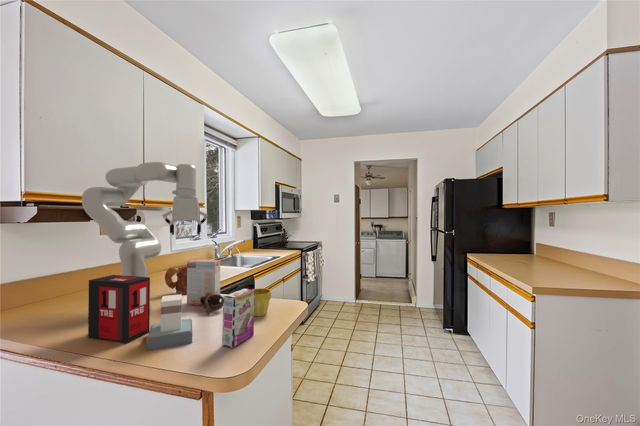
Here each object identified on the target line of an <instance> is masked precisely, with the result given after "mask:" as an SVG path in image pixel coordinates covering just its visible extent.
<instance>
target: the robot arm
mask: <svg viewBox="0 0 640 426" xmlns="http://www.w3.org/2000/svg"><path fill="white" fill-rule="evenodd" d="M105 181H106V183H108V184H109V185H110V186H112V187H106V186H93V187H89V188H87V189H85V190H84V191H83V192H82V196H81V205H82V207H83V209H84V211H85V213H86V214H87V215H88V216H89V217H90V218H91V219H92V220H93V221H94V222H95V224H97V225H98V226H99V228H100V229H101V230H102V231H103V232H104V233H105V234H106V236H107V237H108V239H110V240H111V242H113V243H115V244H121V245H120V246H119V248H118V255H119V261H120V266H121V267H120V269H121V275H123V276H137V277H149V276H148V274H149V273H148V272H149V271H148V267H147V265H146V263H145V260H147V259H154V258H156V257H157V256H159V255H160V253H161V251H162V245H161V243H160V241H159V240H158V238H157V237H156V236H155V235H154V233H152V231H151V230H150V228H148V227H147V225H145V224H144V223H142V222H140V221H126V220H124V219H123V218H122V217H121V216H120V215H119V213H118V212H116V211H115V210H113V209H112V208H111V207H122V206H124V205H126V204H127V203H128V202H129V201H130V200H131V198H133V196H134V195H135V194H136V193H137V192H138V190H139V189H140V187H141V186H146V185H147V184H148V183H149V182H150V181H151V182H152V181H161V182H166V183H167V182H168V183H173V184H176V186H175V190H172V191H171V194H172V195H175V196H173V200H172V209H171V210H169V211H167V212H165V213H163V214H162V215H161V216H162V217H163V219H164V221H165V222H166V223H167V224H168V225H169V233H170V234H171V235H172V236H174V235H175V225H174V223H176V221H178V222H179V221H183V222H184V221H185V222H187V221H189V222H190V221H193V222H194V221H195V222H196V225H197V226H196V235H200V233H201V232H202V224H204V223H205V222H206V220H207V218H208V217H209V215H208V214H207V213H204V212H203V211H201V210H200V203H199V197H198V196H197V194H196V193H197V168H196V166H195V165H193V164H189V163H179V164H178V165H174V164H170V163H166V162H163V161H152V162H149V161H148V162H144V163H143V162H142V163H139V164H138V165H137V166H126V167H118V168H117V167H116V168H112V169H110V170H108V171H107V172H106V173H105ZM170 215H171V217H172V220H170V219H169V217H168V216H170ZM200 215H201V216H203V217H202V219H201V220H200ZM151 310H152V306H151V305H150V311H151Z"/></svg>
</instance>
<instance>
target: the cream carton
mask: <svg viewBox="0 0 640 426" xmlns="http://www.w3.org/2000/svg"><path fill="white" fill-rule="evenodd" d="M182 295H183V294H171V295H170V294H169V295H163V296H162V298H161V301H160V322H161V332H165V331H172V330H179V329H181V320H182V311H183V310H182V306H183V305H182V304H183V303H182V302H183V300H182V299H183V298H182Z"/></svg>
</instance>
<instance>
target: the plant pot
mask: <svg viewBox="0 0 640 426" xmlns="http://www.w3.org/2000/svg"><path fill="white" fill-rule="evenodd" d="M251 290H255V298H254V317H262V316H265V315H267V314H268V309H269V305H270V300H271V299H272V290H271V289H269V288H264V287H262V288H259V287H258V288H252V289H251Z"/></svg>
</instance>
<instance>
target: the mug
mask: <svg viewBox="0 0 640 426" xmlns="http://www.w3.org/2000/svg"><path fill="white" fill-rule="evenodd" d="M175 275H176V281H173V279H172V278H173V276H175ZM164 282H165V284H166V286H167V287H168V288H170V289H173V290H174V289H175V293H176V294H177V295H179V294H182V295H187V265H185V266H178V268H176V267H172V266H171V267H169V268H168V269H167V270H166V272H165V274H164Z"/></svg>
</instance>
